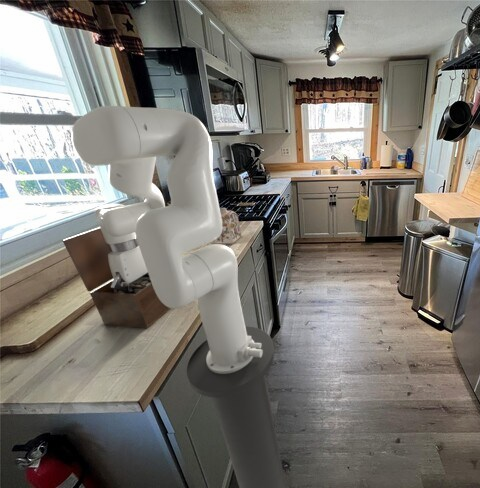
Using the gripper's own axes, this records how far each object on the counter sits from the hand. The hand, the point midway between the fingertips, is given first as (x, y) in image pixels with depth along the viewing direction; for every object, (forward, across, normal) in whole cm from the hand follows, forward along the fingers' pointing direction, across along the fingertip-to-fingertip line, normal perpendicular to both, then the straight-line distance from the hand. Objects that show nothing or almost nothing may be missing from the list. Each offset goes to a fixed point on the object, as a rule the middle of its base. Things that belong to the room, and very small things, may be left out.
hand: (142, 294), depth 86 cm
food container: (+5, 0, 0) cm, 5 cm away
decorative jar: (+6, -62, -4) cm, 63 cm away
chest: (+6, 0, 0) cm, 6 cm away
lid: (-14, 0, -8) cm, 16 cm away
